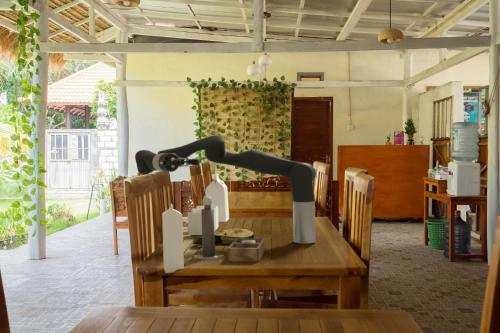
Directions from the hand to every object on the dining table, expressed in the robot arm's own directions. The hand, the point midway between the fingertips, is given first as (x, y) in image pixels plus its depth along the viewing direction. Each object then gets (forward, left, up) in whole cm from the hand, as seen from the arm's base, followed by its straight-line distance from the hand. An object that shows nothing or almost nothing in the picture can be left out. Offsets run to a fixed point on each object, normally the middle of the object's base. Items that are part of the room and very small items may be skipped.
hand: (189, 162), depth 176 cm
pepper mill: (-8, +8, -34) cm, 36 cm away
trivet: (-9, +8, -35) cm, 37 cm away
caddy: (-23, +7, -35) cm, 42 cm away
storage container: (+7, -49, -35) cm, 60 cm away
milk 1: (-1, +25, -35) cm, 43 cm away
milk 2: (+7, -82, -35) cm, 89 cm away
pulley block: (-9, -21, -36) cm, 42 cm away
